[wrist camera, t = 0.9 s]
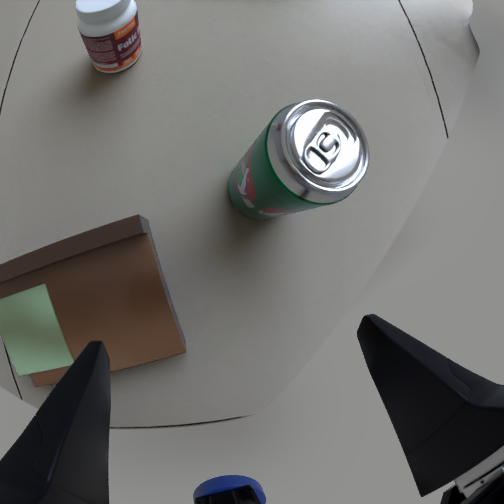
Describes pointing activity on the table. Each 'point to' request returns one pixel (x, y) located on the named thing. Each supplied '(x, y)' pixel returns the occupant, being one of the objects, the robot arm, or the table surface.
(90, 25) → the pill bottle
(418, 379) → the robot arm
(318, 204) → the soda can
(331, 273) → the table surface
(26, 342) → the shelf
